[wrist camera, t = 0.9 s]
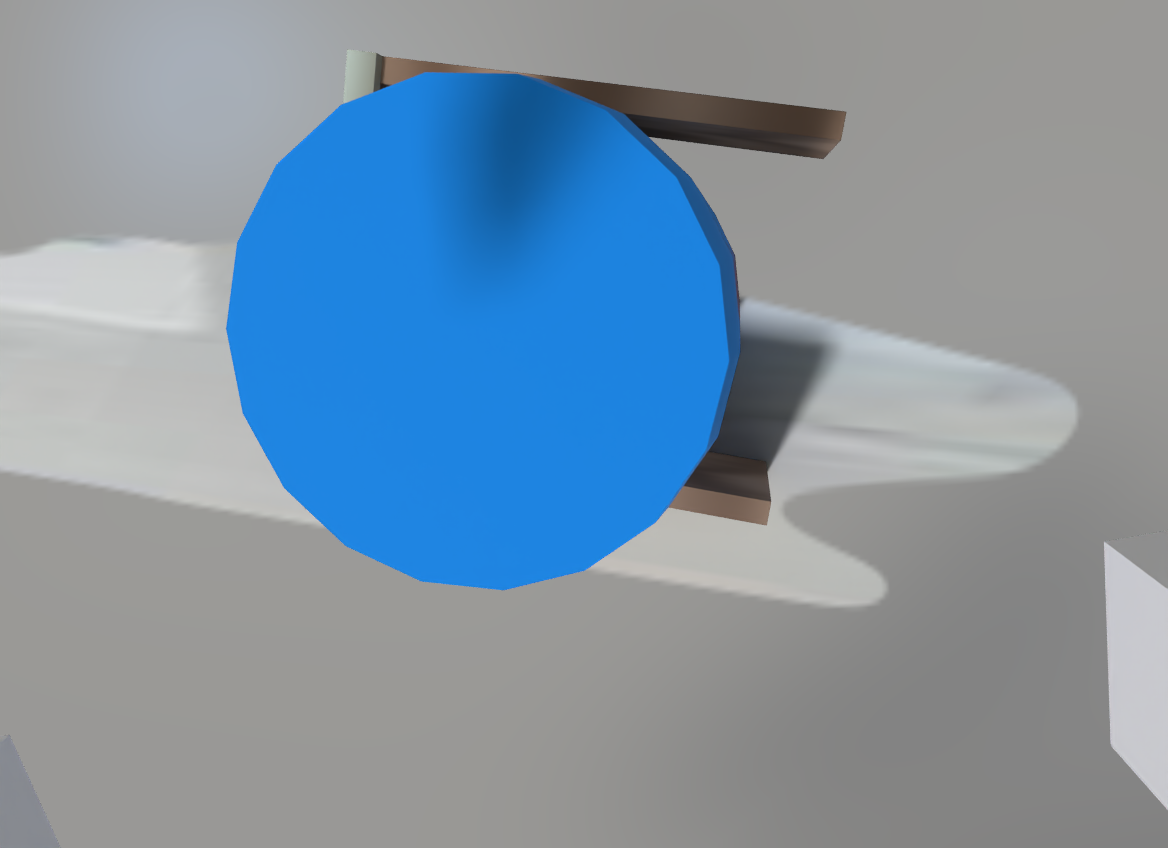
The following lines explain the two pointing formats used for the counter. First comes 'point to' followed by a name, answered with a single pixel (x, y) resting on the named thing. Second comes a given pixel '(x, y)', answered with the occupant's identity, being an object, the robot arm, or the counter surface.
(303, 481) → the thermos
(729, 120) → the wooden frame
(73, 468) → the counter surface
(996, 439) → the counter surface
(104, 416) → the counter surface
